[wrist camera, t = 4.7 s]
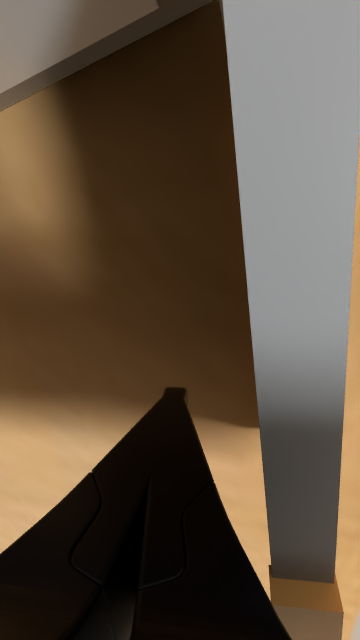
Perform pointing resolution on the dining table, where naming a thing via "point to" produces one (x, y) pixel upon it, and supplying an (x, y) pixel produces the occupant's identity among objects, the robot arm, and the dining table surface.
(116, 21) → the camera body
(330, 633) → the side door
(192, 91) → the dining table surface
